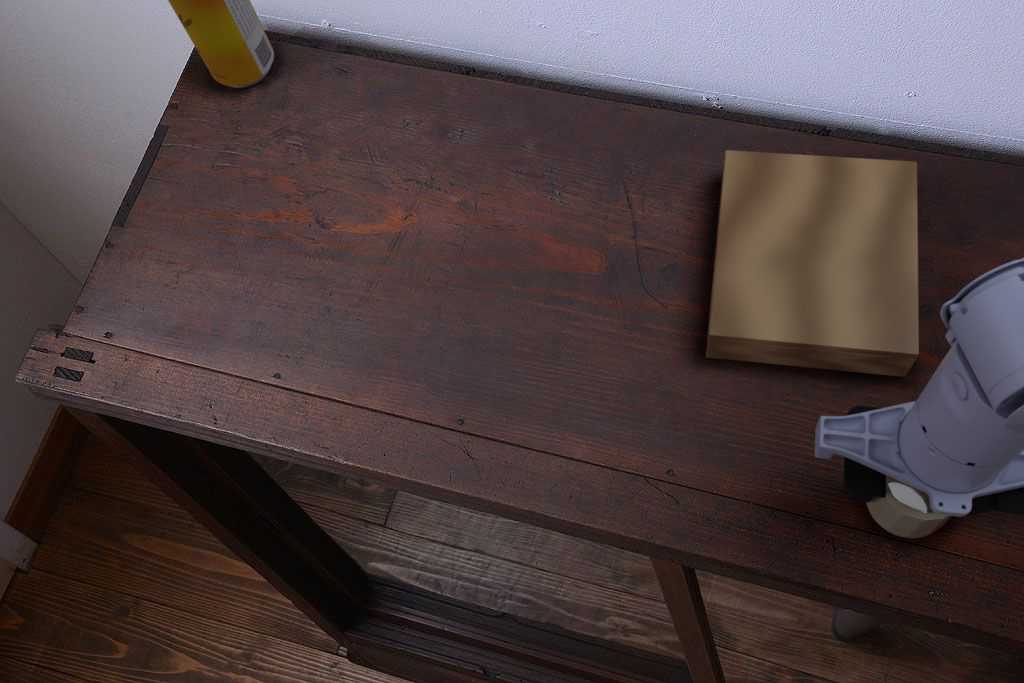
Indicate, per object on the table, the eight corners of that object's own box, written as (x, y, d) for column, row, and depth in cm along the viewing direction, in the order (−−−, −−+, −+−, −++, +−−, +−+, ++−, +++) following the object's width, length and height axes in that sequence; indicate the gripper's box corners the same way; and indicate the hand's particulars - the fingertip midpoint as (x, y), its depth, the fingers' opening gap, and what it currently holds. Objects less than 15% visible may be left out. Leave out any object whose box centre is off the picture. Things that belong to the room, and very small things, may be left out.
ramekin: (947, 466, 66) (967, 443, 62) (949, 544, 64) (969, 525, 60) (865, 456, 67) (879, 433, 63) (864, 533, 65) (879, 514, 61)
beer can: (223, 40, 92) (152, -93, 78) (284, 42, 91) (222, -92, 77) (205, 90, 89) (127, -38, 76) (267, 93, 88) (199, -36, 75)
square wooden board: (905, 190, 76) (917, 161, 72) (905, 377, 69) (919, 354, 66) (722, 178, 78) (725, 149, 75) (705, 357, 71) (708, 334, 68)
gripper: (830, 471, 51) (795, 537, 64) (1130, 506, 49) (1033, 568, 61) (834, 351, 54) (799, 437, 66) (1117, 378, 52) (1027, 462, 64)
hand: (911, 493), depth 64 cm, fingers open, 6 cm apart
